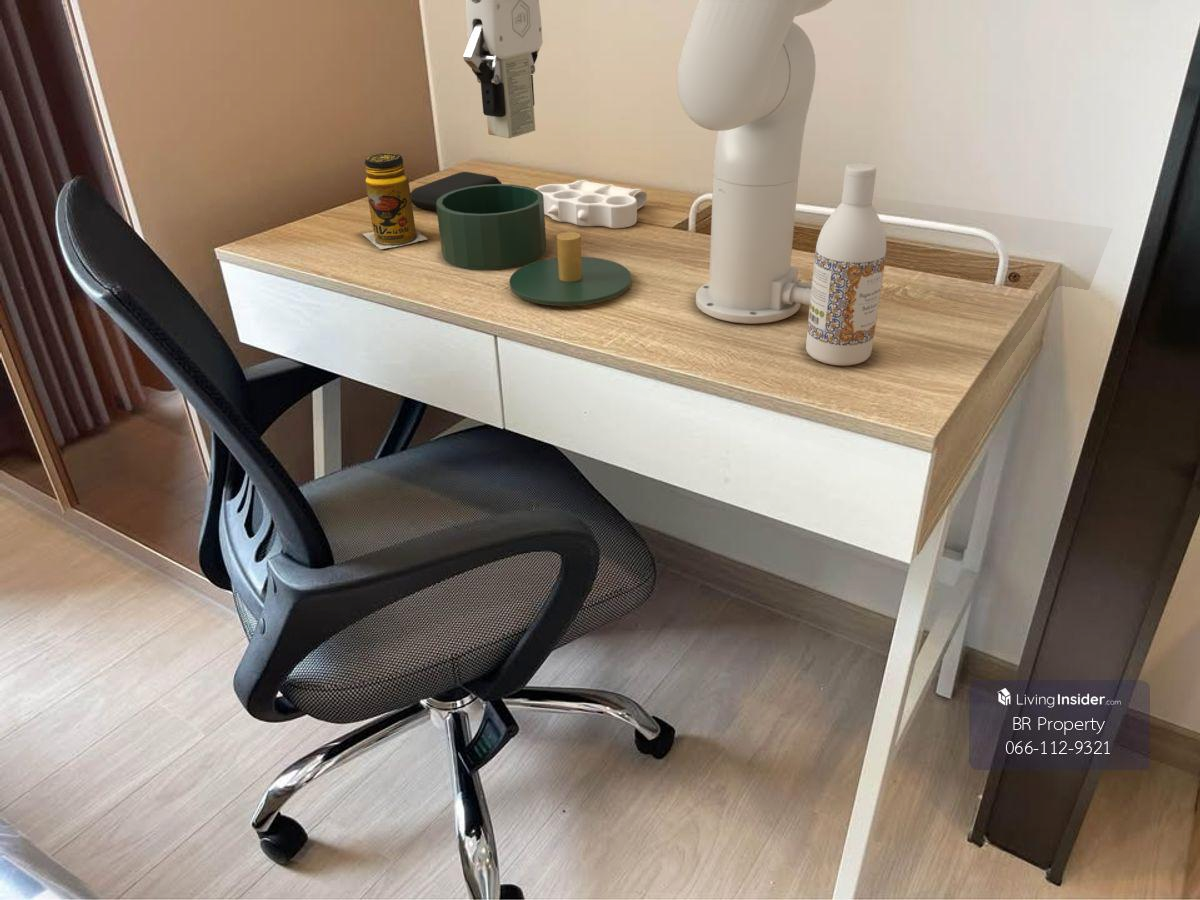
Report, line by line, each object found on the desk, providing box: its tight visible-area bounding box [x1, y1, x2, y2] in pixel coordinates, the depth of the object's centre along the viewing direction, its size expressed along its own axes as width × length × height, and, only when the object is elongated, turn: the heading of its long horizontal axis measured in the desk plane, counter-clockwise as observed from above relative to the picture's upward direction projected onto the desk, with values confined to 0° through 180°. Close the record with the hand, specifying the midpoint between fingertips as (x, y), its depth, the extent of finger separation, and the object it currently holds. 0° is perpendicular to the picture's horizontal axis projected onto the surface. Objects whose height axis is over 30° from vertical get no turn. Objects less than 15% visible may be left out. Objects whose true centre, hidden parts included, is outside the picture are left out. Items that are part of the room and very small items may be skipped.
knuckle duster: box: [534, 179, 648, 229], centre depth 142 cm, size 3×18×15 cm
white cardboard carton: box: [486, 53, 536, 139], centre depth 118 cm, size 5×4×10 cm
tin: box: [436, 183, 547, 271], centre depth 127 cm, size 15×15×8 cm
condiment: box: [361, 152, 428, 250], centre depth 132 cm, size 7×8×12 cm
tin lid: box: [509, 231, 633, 307], centre depth 115 cm, size 16×16×7 cm
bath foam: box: [805, 162, 887, 367], centre depth 93 cm, size 7×7×20 cm
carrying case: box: [410, 171, 503, 212], centre depth 150 cm, size 11×3×15 cm
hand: (509, 109), depth 119 cm, fingers closed on white cardboard carton, 5 cm apart
